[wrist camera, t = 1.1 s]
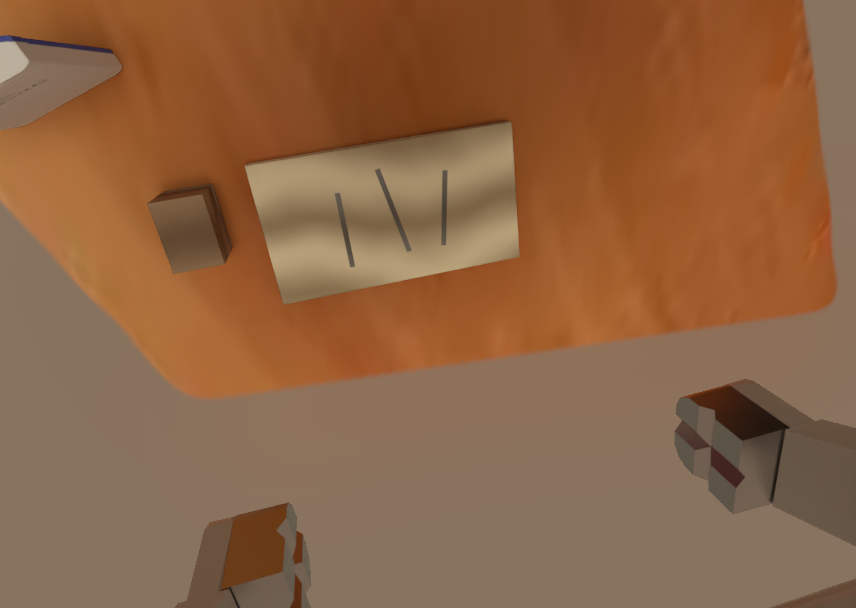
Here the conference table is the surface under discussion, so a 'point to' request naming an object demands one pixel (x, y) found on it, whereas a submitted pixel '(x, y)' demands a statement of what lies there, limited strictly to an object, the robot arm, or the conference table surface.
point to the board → (388, 210)
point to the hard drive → (47, 76)
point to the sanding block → (191, 228)
